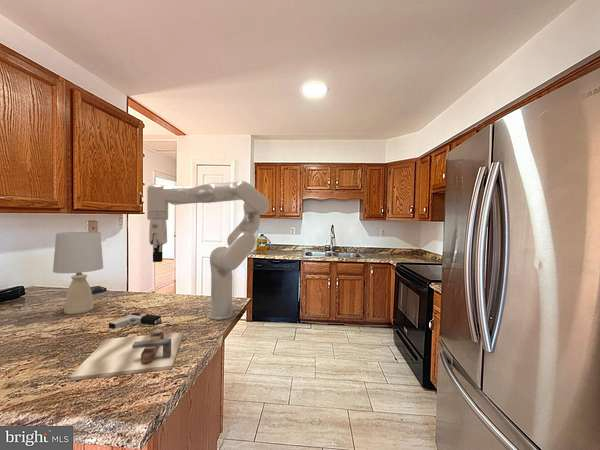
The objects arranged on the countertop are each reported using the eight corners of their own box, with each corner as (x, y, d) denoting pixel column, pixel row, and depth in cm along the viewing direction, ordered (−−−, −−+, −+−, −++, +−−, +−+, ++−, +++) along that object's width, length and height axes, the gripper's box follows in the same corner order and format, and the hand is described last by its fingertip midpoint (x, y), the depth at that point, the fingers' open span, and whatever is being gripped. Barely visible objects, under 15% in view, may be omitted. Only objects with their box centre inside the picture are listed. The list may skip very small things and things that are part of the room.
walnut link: (151, 337, 101) (151, 331, 101) (165, 336, 102) (165, 330, 102) (137, 363, 83) (137, 357, 83) (153, 361, 84) (153, 355, 84)
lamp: (43, 313, 127) (43, 232, 126) (87, 302, 144) (87, 231, 144) (68, 320, 120) (68, 234, 119) (112, 307, 137) (112, 232, 137)
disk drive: (98, 290, 172) (69, 295, 159) (98, 285, 172) (69, 290, 159) (107, 292, 166) (77, 298, 154) (107, 288, 166) (77, 293, 154)
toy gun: (140, 326, 108) (163, 315, 120) (107, 322, 112) (132, 311, 124) (141, 334, 109) (163, 322, 120) (108, 330, 113) (132, 318, 124)
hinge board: (183, 334, 107) (183, 319, 107) (171, 368, 83) (172, 348, 83) (105, 341, 100) (105, 325, 100) (68, 380, 76) (68, 359, 76)
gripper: (164, 216, 106) (164, 264, 106) (171, 216, 120) (171, 258, 121) (142, 215, 104) (142, 265, 104) (152, 216, 118) (151, 259, 119)
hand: (157, 261), depth 112 cm, fingers closed
